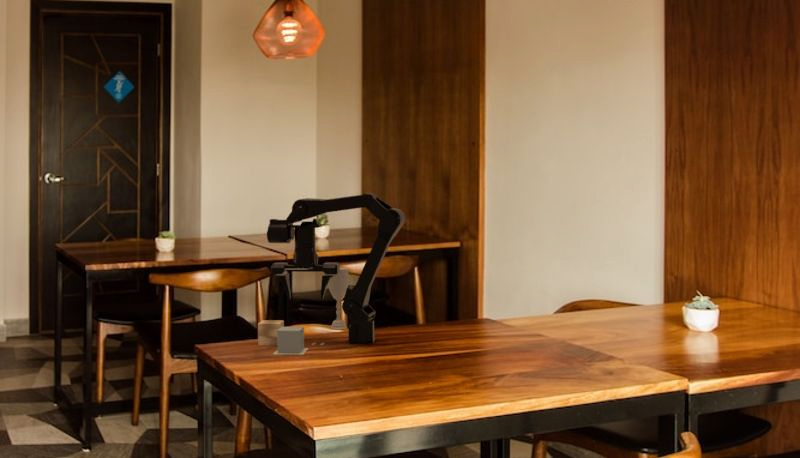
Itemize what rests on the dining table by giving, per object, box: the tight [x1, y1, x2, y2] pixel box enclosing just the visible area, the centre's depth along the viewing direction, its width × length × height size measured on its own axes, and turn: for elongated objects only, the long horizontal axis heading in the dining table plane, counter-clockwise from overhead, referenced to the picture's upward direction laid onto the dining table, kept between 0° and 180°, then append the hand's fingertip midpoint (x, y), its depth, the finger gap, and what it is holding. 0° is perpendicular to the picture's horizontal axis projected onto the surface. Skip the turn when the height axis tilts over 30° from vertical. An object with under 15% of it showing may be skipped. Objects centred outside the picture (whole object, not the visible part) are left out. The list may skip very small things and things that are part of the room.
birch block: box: [257, 319, 285, 347], centre depth 279 cm, size 6×6×6 cm
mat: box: [272, 347, 309, 356], centre depth 267 cm, size 8×8×1 cm
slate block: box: [276, 326, 305, 353], centre depth 267 cm, size 6×6×6 cm
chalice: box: [327, 267, 351, 330], centre depth 304 cm, size 7×7×18 cm
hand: (305, 299), depth 282 cm, fingers open, 9 cm apart
